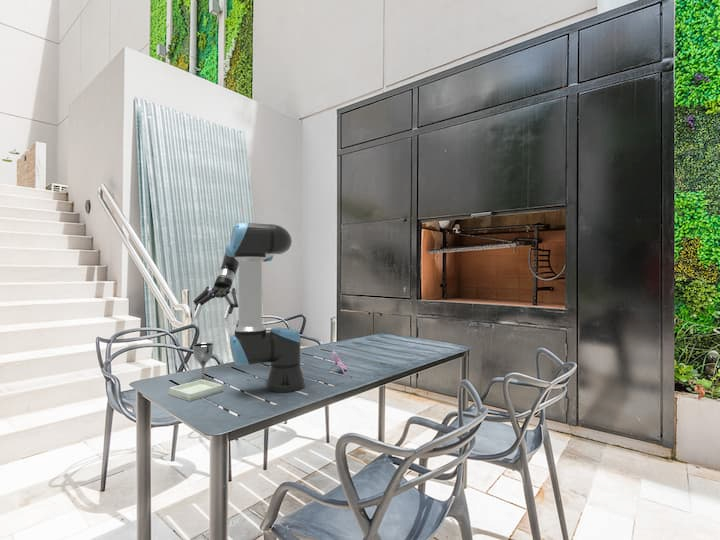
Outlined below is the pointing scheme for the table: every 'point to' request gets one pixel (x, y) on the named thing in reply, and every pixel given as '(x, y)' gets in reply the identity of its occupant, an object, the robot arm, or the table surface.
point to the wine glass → (203, 356)
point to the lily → (338, 362)
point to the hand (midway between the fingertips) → (210, 318)
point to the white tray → (195, 390)
